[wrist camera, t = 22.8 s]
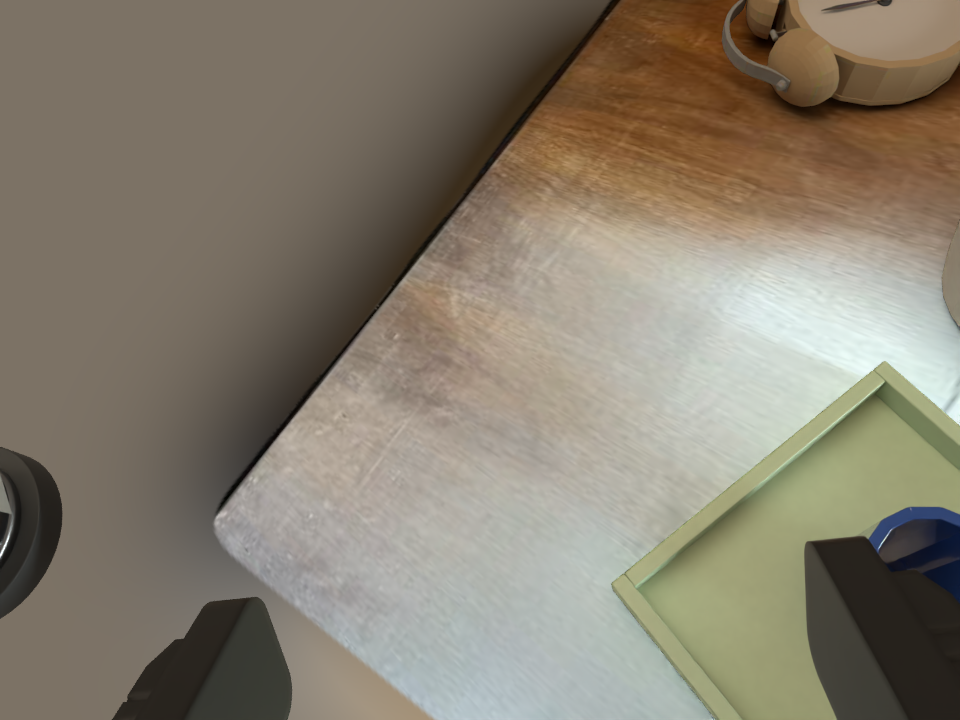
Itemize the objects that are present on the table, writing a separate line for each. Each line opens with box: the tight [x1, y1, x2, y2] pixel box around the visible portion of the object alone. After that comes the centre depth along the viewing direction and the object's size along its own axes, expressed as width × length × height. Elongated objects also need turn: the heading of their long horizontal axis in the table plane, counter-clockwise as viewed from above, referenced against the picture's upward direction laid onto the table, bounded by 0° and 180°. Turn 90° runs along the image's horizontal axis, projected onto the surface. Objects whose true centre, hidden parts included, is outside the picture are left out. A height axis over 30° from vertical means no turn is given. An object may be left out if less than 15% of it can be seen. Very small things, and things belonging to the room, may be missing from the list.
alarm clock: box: [722, 0, 960, 107], centre depth 46 cm, size 11×5×15 cm
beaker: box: [856, 507, 960, 604], centre depth 31 cm, size 5×5×10 cm
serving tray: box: [611, 361, 960, 720], centre depth 35 cm, size 18×15×3 cm
